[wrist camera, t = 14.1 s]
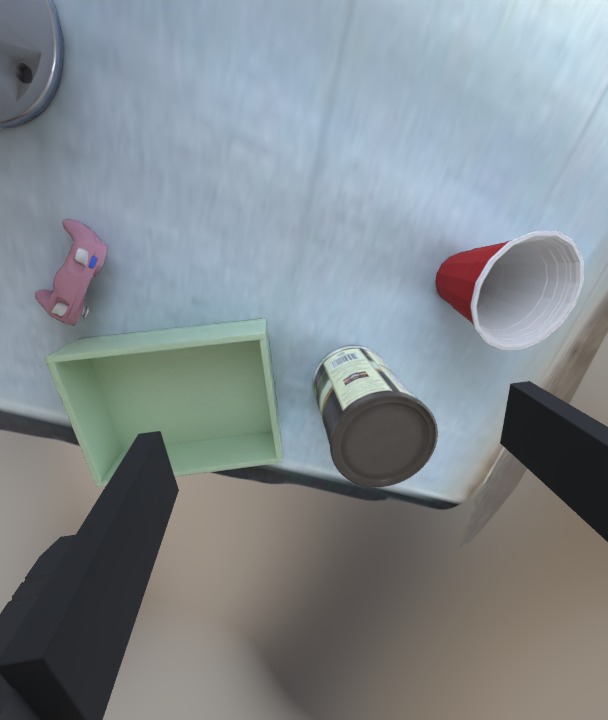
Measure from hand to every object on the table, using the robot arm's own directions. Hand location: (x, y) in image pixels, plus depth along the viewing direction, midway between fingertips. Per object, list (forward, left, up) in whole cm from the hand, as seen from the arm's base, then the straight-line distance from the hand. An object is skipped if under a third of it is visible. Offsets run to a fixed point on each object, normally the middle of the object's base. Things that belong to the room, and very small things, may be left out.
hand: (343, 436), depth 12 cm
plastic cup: (0, +21, -29) cm, 35 cm away
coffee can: (+12, +7, -29) cm, 32 cm away
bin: (+10, -14, -29) cm, 34 cm away
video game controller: (-5, -22, -29) cm, 37 cm away
